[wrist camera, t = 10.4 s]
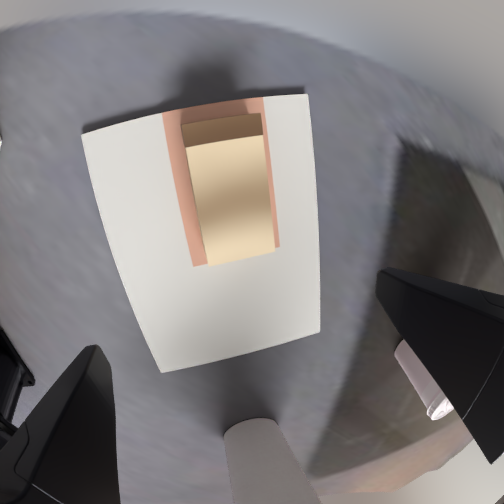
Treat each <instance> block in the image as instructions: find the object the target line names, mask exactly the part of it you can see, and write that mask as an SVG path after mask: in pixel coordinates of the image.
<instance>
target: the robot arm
mask: <svg viewBox="0 0 504 504" xmlns="http://www.w3.org/2000/svg"><path fill="white" fill-rule="evenodd" d="M375 293H376V297H377V299H378V300H379V302H380V304H381V305H382V307H383V308H384V310H385V311H386V313H387V315H388V316H389V318H390V319H391V321H392V323H393V324H394V326H395V327H396V329H397V330H398V332H399V333H400V335H401V336H402V337H403V339H404V340H405V341H406V342H407V344H408V345H409V346H410V348H411V349H412V350H413V352H414V353H415V354H416V356H417V357H418V358H419V360H420V361H421V362H422V364H423V365H424V366H425V368H426V369H427V371H428V372H429V373H430V375H431V376H432V377H433V379H434V380H435V382H436V383H437V384H438V386H439V387H440V389H441V390H442V392H443V393H444V394H445V396H446V397H447V399H448V400H449V402H450V403H451V404H452V406H453V407H454V409H455V410H456V412H457V413H458V415H459V416H460V418H461V419H462V420H463V422H464V424H465V425H466V427H467V428H468V430H469V432H470V433H471V435H472V436H473V438H474V439H475V441H476V442H477V444H478V445H479V447H480V449H481V450H482V452H483V453H484V455H485V457H486V459H487V460H488V462H489V463H490V464H493V463H494V462H495V461H496V460H497V459H498V458H499V457H500V456H501V455H502V454H503V453H504V295H499V294H495V293H491V292H487V291H483V290H478V289H475V288H471V287H467V286H463V285H459V284H456V283H452V282H448V281H444V280H440V279H436V278H432V277H428V276H424V275H419V274H415V273H411V272H407V271H403V270H399V269H395V268H391V267H387V268H384V269H381V270H379V271H378V272H377V278H376V289H375ZM34 385H35V379H34V378H33V376H32V375H31V373H30V372H29V371H28V369H27V368H26V366H25V365H24V363H23V362H22V361H21V359H20V358H19V356H18V355H17V353H16V351H15V350H14V348H13V347H12V345H11V344H10V342H9V340H8V339H7V337H6V335H5V334H4V332H3V331H1V330H0V504H121V503H120V493H119V483H118V470H117V453H116V416H115V403H114V394H113V383H112V371H111V366H110V364H109V362H108V360H107V358H106V357H105V355H104V353H103V351H102V349H101V348H100V346H99V345H97V344H95V345H90V346H86V347H85V348H84V349H83V350H82V351H81V352H80V353H79V355H78V356H77V357H76V358H75V359H74V360H73V362H72V363H71V364H70V365H69V366H68V368H67V369H66V370H65V371H64V372H63V373H62V375H61V376H60V377H59V378H58V379H57V381H56V382H55V383H54V384H53V386H52V387H51V388H50V389H49V390H48V392H47V393H46V394H45V395H44V397H43V398H42V399H41V400H40V402H39V403H38V404H37V405H36V407H35V408H34V409H33V410H32V412H31V413H30V414H29V415H28V417H27V418H26V419H25V421H24V422H23V423H22V424H21V426H20V427H19V428H17V427H16V426H14V425H13V424H11V423H12V419H13V416H14V412H15V409H16V406H17V402H18V399H19V396H20V393H21V390H22V387H25V386H34ZM495 504H504V495H503V496H502V498H500V499H499V500H498V501H497V502H496V503H495Z"/></svg>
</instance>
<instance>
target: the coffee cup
mask: <svg viewBox="0 0 504 504" xmlns="http://www.w3.org/2000/svg"><path fill="white" fill-rule="evenodd" d="M224 444H225V451H226V457H227V464H228V470H229V476H230V482H231V488H232V494H233V500H234V504H322V503H321V501H320V499H319V498H318V496H317V494H316V493H315V491H314V489H313V488H312V486H311V484H310V482H309V481H308V479H307V477H306V476H305V474H304V472H303V470H302V469H301V467H300V465H299V463H298V461H297V460H296V458H295V456H294V454H293V452H292V451H291V449H290V447H289V445H288V443H287V441H286V440H285V438H284V436H283V434H282V432H281V430H280V428H279V426H278V425H277V423H276V422H275V421H273V420H271V419H267V418H256V419H250V420H246V421H243V422H240V423H238V424H236V425H234V426H232V427H231V428H229V429H228V430H227V431H226V432H225V434H224Z"/></svg>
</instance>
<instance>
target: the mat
mask: <svg viewBox="0 0 504 504" xmlns="http://www.w3.org/2000/svg"><path fill="white" fill-rule="evenodd" d="M252 113H261V119H262V127H263V141H264V150H265V158H266V167H267V176H268V185H269V194H270V203H271V213H272V222H273V232H274V242H275V252H271V253H267V254H263V255H258V256H254V257H250V258H245V259H241V260H236V261H232V262H228V263H223V264H219V265H214V266H210V267H209V266H208V262H207V259H206V255H205V251H204V247H203V242H202V238H201V233H200V228H199V223H198V218H197V213H196V207H195V202H194V197H193V192H192V186H191V181H190V175H189V170H188V164H187V158H186V152H185V146H184V144H183V138H182V131H181V124H186V123H191V122H197V121H203V120H209V119H215V118H221V117H228V116H235V115H243V114H252ZM81 136H82V141H83V146H84V151H85V156H86V160H87V165H88V169H89V174H90V178H91V182H92V186H93V190H94V194H95V197H96V201H97V205H98V208H99V212H100V215H101V219H102V222H103V226H104V229H105V232H106V235H107V239H108V242H109V245H110V248H111V251H112V254H113V257H114V260H115V263H116V266H117V269H118V272H119V274H120V277H121V280H122V283H123V285H124V288H125V291H126V293H127V296H128V298H129V301H130V304H131V306H132V309H133V311H134V313H135V316H136V318H137V321H138V323H139V326H140V328H141V330H142V333H143V335H144V337H145V339H146V342H147V344H148V346H149V348H150V351H151V353H152V355H153V357H154V359H155V361H156V363H157V366H158V368H159V370H160V372H161V373H164V372H169V371H174V370H179V369H184V368H188V367H193V366H197V365H202V364H206V363H211V362H215V361H219V360H223V359H227V358H231V357H235V356H239V355H243V354H247V353H250V352H254V351H258V350H261V349H265V348H269V347H272V346H276V345H279V344H282V343H286V342H289V341H292V340H296V339H299V338H302V337H305V336H309V335H312V334H315V333H318V332H320V260H319V230H318V209H317V192H316V177H315V163H314V151H313V140H312V129H311V119H310V110H309V101H308V94H296V95H281V96H268V97H257V98H248V99H239V100H232V101H224V102H218V103H211V104H205V105H199V106H193V107H188V108H182V109H177V110H172V111H168V112H163V113H159V114H154V115H150V116H146V117H142V118H138V119H134V120H130V121H126V122H122V123H119V124H115V125H112V126H108V127H105V128H101V129H98V130H95V131H92V132H88V133H85V134H82V135H81Z"/></svg>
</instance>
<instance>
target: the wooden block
mask: <svg viewBox="0 0 504 504" xmlns="http://www.w3.org/2000/svg"><path fill="white" fill-rule="evenodd" d="M181 131H182V138H183V144H184V146H185V152H186V158H187V164H188V170H189V175H190V181H191V186H192V192H193V197H194V202H195V207H196V213H197V218H198V223H199V228H200V233H201V238H202V242H203V247H204V251H205V255H206V259H207V262H208V266H209V267H210V266H214V265H219V264H223V263H228V262H232V261H236V260H241V259H245V258H250V257H254V256H258V255H263V254H267V253H271V252H275V242H274V232H273V222H272V213H271V203H270V194H269V185H268V176H267V167H266V158H265V150H264V141H263V127H262V119H261V113H252V114H243V115H235V116H228V117H221V118H215V119H209V120H203V121H197V122H191V123H186V124H181Z"/></svg>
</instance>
